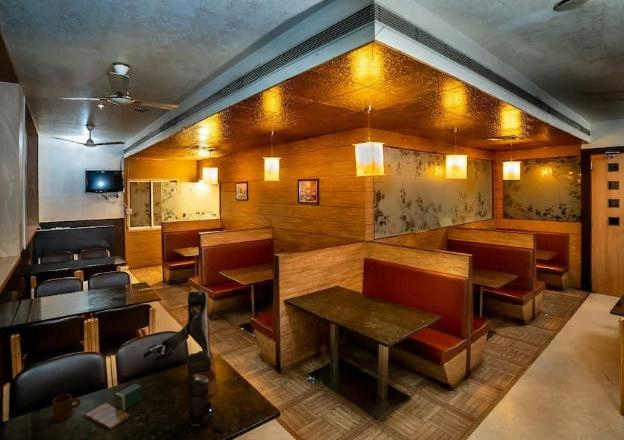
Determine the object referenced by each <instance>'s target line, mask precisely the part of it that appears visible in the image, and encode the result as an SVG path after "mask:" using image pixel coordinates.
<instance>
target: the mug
mask: <svg viewBox="0 0 624 440" xmlns="http://www.w3.org/2000/svg"><path fill="white" fill-rule="evenodd" d="M74 402H76V403H75V404H73V403H74ZM81 403H82V402H81V399H80V398H79V397H73V398H72V394H70V393H62V394H60V395H57V396H55V397H54V398H53V399H52V417H53V420H54V421H55V422H63V421H65V420H68V418H70V417H72V415H73V409H76V408H78V407H80V405H81Z"/></svg>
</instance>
